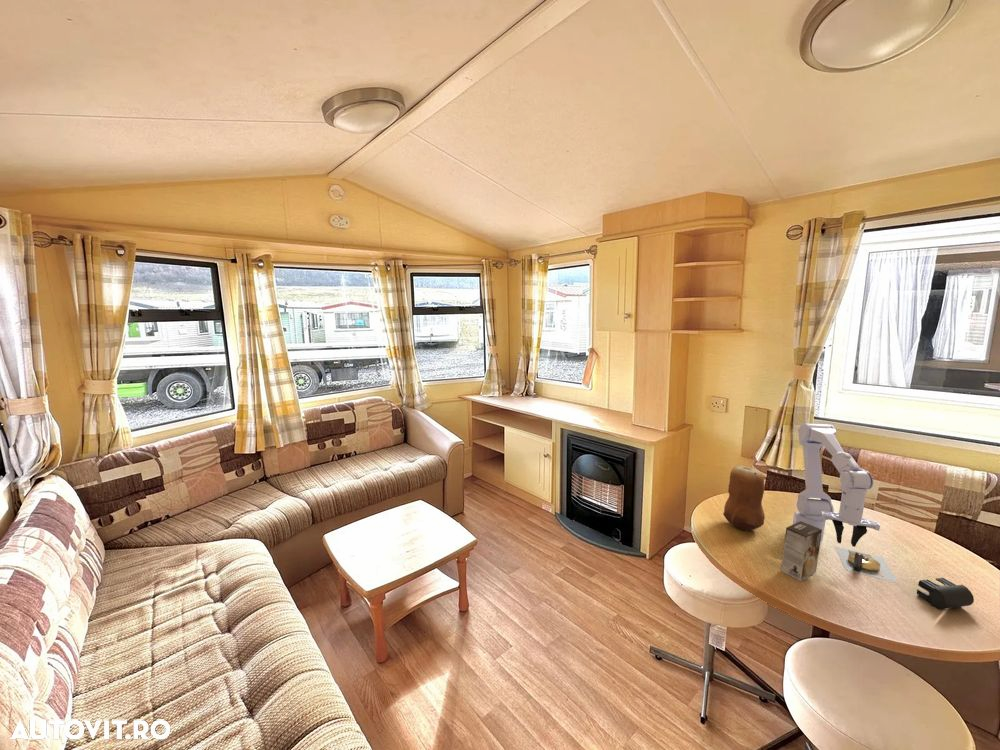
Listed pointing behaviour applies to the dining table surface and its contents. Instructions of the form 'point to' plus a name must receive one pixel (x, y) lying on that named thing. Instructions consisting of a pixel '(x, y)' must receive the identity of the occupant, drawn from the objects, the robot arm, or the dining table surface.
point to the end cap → (945, 594)
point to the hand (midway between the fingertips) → (845, 543)
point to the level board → (881, 574)
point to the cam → (863, 562)
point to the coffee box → (801, 550)
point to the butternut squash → (745, 498)
